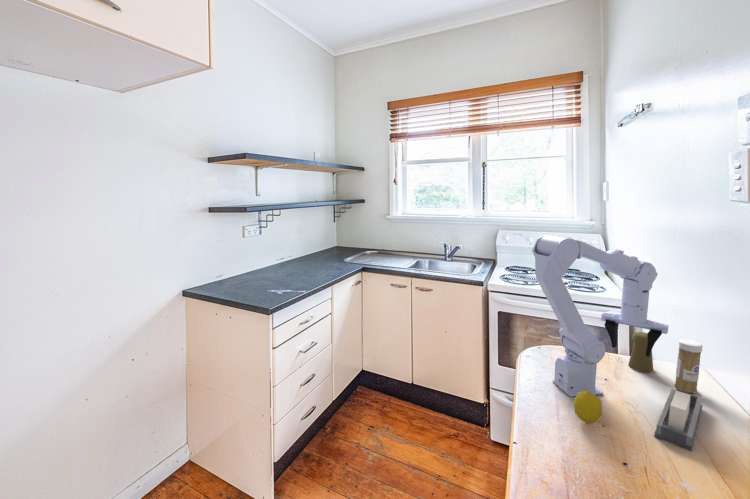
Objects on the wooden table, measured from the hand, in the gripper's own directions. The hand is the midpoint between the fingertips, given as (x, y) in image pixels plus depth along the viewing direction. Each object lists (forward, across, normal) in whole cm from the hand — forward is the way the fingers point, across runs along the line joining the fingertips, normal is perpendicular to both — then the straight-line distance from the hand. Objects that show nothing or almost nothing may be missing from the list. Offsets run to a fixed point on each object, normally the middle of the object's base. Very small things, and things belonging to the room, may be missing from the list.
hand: (630, 350), depth 93 cm
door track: (+9, -12, +12) cm, 20 cm away
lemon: (+10, +2, +27) cm, 29 cm away
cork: (+10, -1, -12) cm, 16 cm away
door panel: (+8, -12, +15) cm, 21 cm away
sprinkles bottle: (+10, -11, -6) cm, 16 cm away
